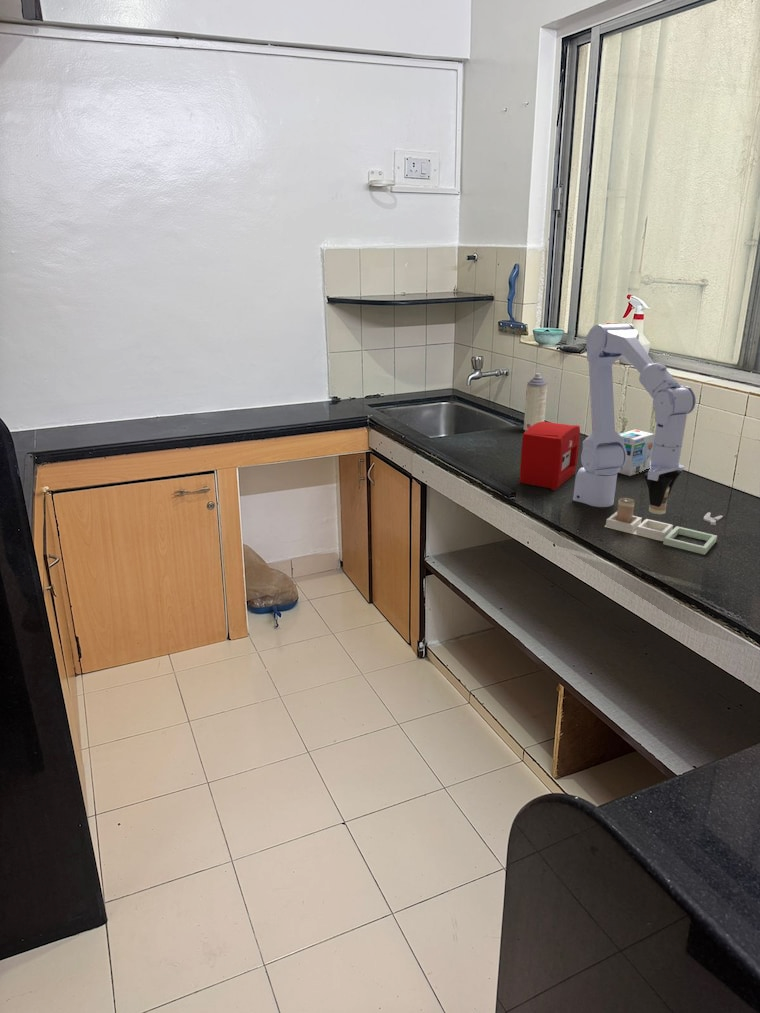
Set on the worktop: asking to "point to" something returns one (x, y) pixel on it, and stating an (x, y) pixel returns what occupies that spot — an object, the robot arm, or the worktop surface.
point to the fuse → (625, 510)
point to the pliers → (712, 520)
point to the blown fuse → (663, 506)
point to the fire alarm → (549, 454)
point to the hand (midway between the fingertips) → (658, 502)
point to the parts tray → (704, 549)
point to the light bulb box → (637, 451)
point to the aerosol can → (535, 401)
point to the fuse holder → (641, 527)
